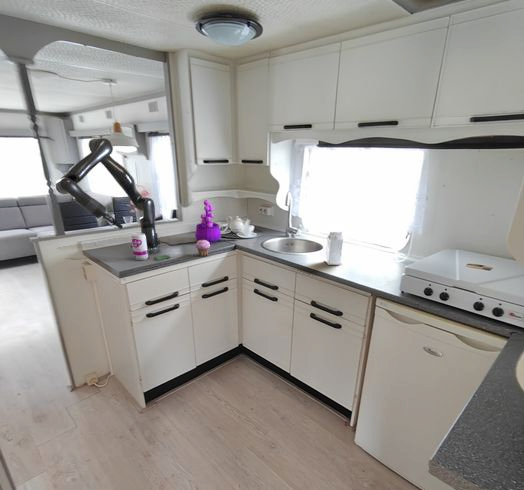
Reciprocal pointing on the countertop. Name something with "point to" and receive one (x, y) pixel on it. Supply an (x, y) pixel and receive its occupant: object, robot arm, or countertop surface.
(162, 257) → the green rectangular block
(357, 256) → the countertop surface
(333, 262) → the milk carton
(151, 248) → the saucepan
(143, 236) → the supplement can
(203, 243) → the cupcake
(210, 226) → the decorative plant
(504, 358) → the countertop surface
